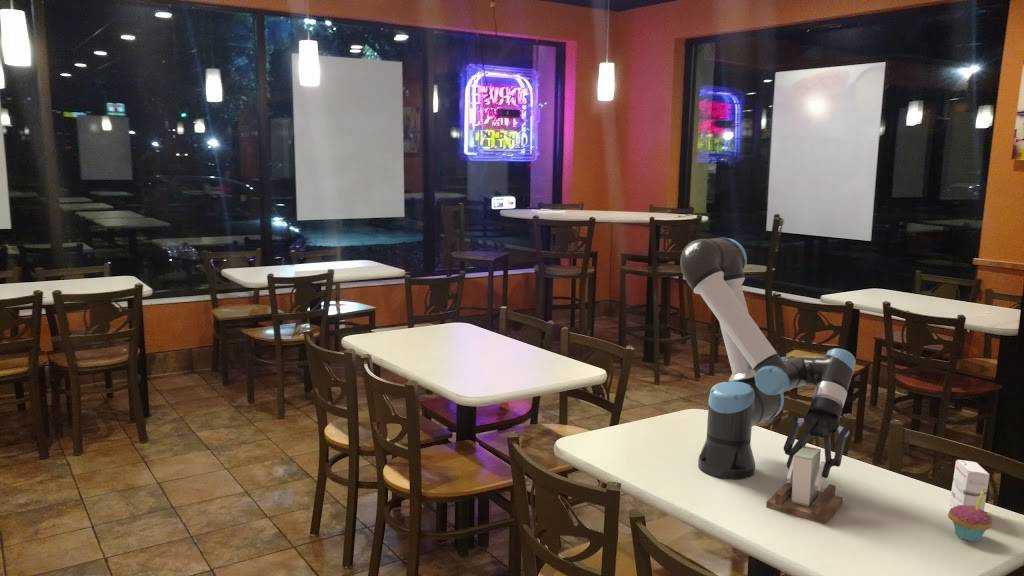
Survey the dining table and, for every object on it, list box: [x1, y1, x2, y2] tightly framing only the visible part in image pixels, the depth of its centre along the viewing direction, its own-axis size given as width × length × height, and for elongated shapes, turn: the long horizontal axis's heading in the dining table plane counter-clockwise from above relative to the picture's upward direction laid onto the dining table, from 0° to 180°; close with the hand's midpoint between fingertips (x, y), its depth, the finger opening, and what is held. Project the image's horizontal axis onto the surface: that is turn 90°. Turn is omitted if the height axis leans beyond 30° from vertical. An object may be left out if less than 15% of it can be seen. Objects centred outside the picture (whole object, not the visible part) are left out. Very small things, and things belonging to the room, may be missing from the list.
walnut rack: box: [766, 481, 844, 525], centre depth 187 cm, size 14×15×4 cm
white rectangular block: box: [949, 459, 990, 511], centre depth 185 cm, size 9×5×12 cm, turn 168°
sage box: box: [792, 445, 822, 506], centre depth 186 cm, size 4×8×12 cm, turn 143°
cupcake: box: [947, 489, 993, 542], centre depth 172 cm, size 9×8×12 cm
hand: (802, 484), depth 184 cm, fingers open, 6 cm apart
